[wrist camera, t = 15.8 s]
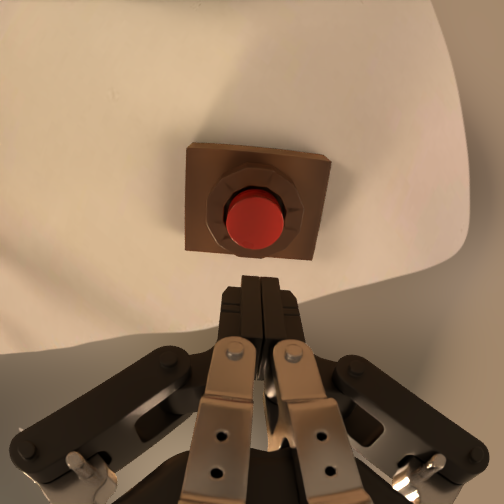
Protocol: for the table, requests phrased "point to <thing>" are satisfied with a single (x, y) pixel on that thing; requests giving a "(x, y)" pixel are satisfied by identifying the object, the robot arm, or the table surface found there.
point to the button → (254, 219)
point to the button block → (253, 177)
